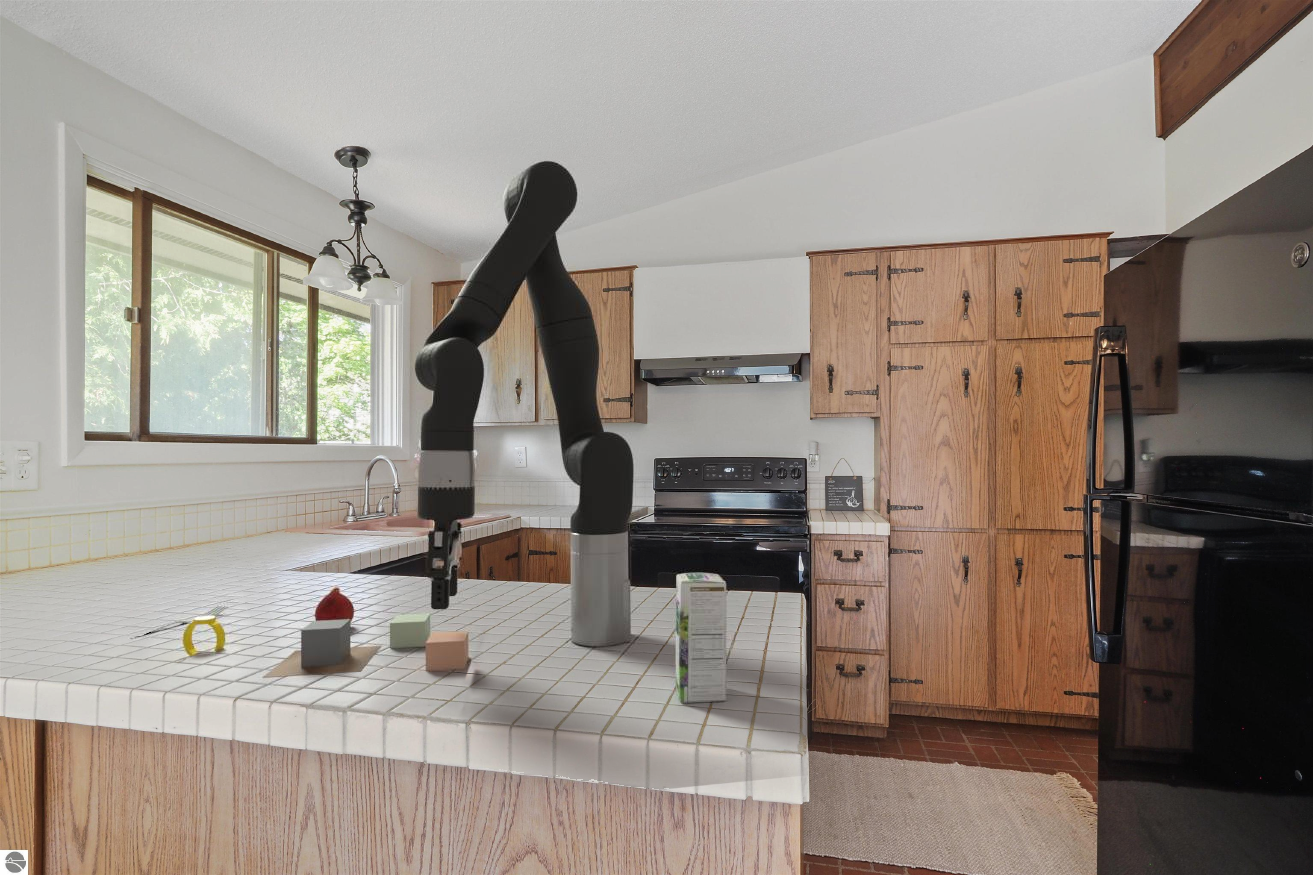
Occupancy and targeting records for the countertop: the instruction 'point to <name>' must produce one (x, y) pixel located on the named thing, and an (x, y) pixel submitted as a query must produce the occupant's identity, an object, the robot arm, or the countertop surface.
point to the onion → (334, 607)
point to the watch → (200, 620)
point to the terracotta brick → (447, 650)
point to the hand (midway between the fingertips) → (444, 601)
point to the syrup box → (700, 637)
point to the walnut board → (350, 664)
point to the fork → (189, 622)
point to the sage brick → (409, 630)
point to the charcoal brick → (325, 643)
